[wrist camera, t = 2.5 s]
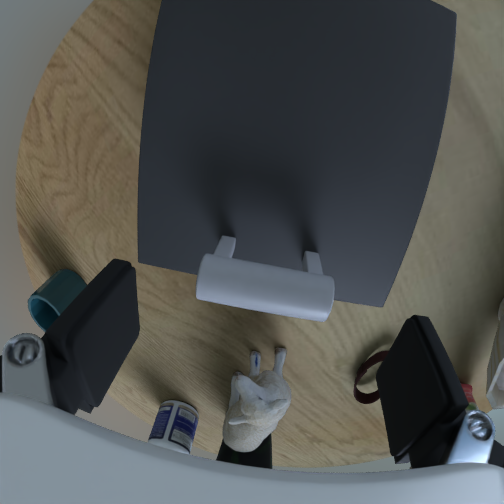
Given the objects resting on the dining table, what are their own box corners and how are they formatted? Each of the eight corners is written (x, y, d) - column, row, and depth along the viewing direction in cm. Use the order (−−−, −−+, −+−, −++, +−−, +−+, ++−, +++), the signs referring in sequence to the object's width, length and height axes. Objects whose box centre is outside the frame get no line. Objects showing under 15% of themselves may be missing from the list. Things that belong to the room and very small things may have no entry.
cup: (214, 419, 38) (197, 492, 27) (237, 396, 35) (222, 480, 24) (261, 436, 39) (253, 505, 28) (289, 414, 36) (285, 494, 25)
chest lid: (379, 299, 16) (403, 363, 12) (143, 256, 16) (100, 308, 12) (450, 16, 9) (505, -6, 4) (178, -39, 9) (137, -83, 4)
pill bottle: (165, 416, 39) (147, 470, 31) (157, 395, 37) (134, 454, 28) (202, 423, 39) (188, 480, 30) (196, 402, 36) (179, 465, 27)
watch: (376, 391, 32) (380, 414, 29) (342, 387, 32) (345, 411, 29) (406, 348, 29) (415, 372, 26) (371, 343, 29) (378, 368, 26)
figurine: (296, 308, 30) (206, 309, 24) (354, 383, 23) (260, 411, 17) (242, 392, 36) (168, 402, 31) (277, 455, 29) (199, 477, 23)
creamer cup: (48, 282, 30) (22, 308, 25) (66, 259, 28) (36, 286, 23) (78, 315, 32) (55, 343, 27) (98, 296, 30) (73, 326, 25)
